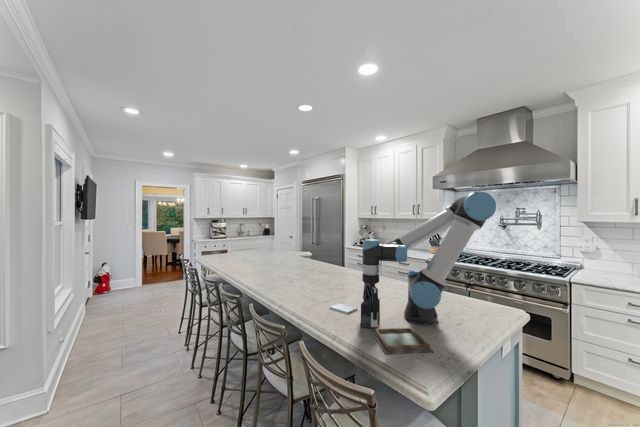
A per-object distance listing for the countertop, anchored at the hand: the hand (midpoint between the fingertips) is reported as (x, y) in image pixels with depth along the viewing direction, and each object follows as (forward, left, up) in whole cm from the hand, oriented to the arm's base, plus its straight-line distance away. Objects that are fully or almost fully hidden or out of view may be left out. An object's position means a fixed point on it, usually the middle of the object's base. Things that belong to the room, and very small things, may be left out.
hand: (370, 321), depth 126 cm
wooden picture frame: (-7, +18, -1) cm, 19 cm away
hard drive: (+9, -20, -2) cm, 22 cm away
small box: (0, 0, -2) cm, 2 cm away
